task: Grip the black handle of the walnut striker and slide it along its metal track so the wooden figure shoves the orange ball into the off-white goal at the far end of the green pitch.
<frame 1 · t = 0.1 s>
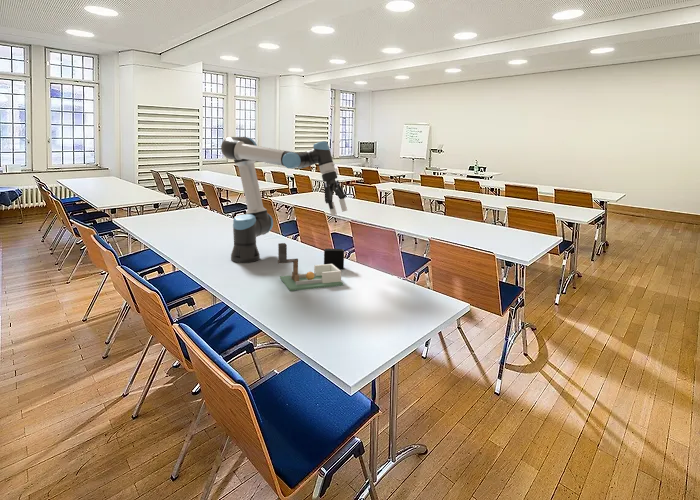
hand: (339, 213, 225), 28 cm above the table, tool tilted 20°, fingers open, 13 cm apart
striker: (288, 262, 198), point 10 cm above the table, slide at 0.0 cm
ball: (310, 275, 204), point 3 cm above the table, touching pitch
pitch: (311, 281, 205), on the table
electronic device: (333, 268, 226), on the table
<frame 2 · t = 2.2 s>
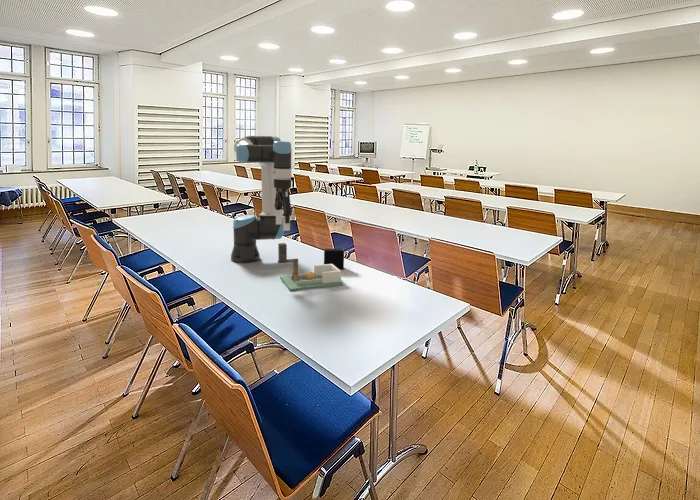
hand: (282, 227, 193), 27 cm above the table, tool pointing down, fingers open, 13 cm apart
nothing on the table moved.
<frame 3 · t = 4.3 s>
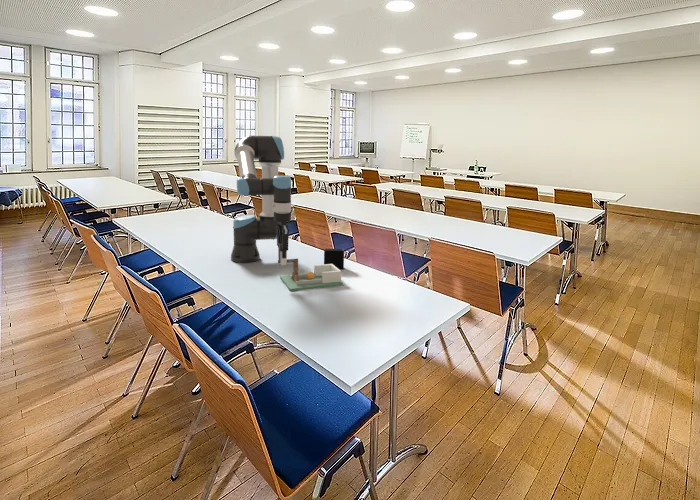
hand: (282, 263, 197), 10 cm above the table, tool pointing down, fingers closed on striker, 3 cm apart
striker: (288, 262, 198), point 10 cm above the table, slide at 0.0 cm, touching gripper
everything else where it was.
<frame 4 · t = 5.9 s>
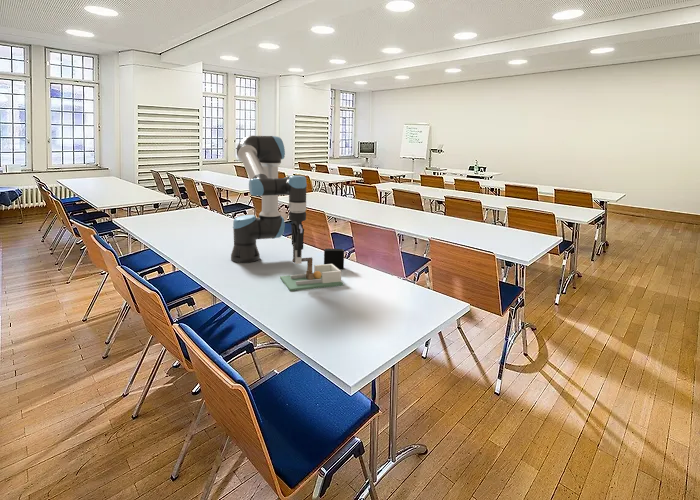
hand: (297, 262, 200), 10 cm above the table, tool pointing down, fingers closed on striker, 3 cm apart
striker: (302, 261, 200), point 10 cm above the table, slide at 6.8 cm, touching gripper
ball: (317, 275, 205), point 3 cm above the table, tilted 95°, touching pitch
everything else where it was.
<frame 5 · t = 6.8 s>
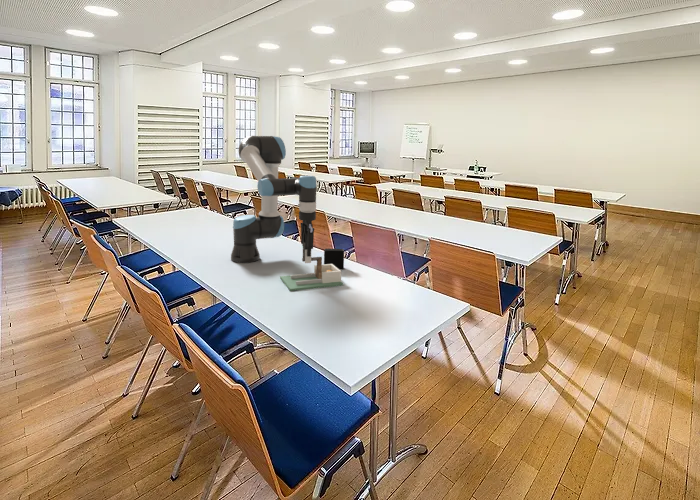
hand: (306, 261, 201), 10 cm above the table, tool pointing down, fingers closed on striker, 3 cm apart
striker: (312, 260, 202), point 10 cm above the table, slide at 11.3 cm, touching gripper
ball: (329, 274, 207), point 3 cm above the table, tilted 96°, touching pitch
everything else where it was.
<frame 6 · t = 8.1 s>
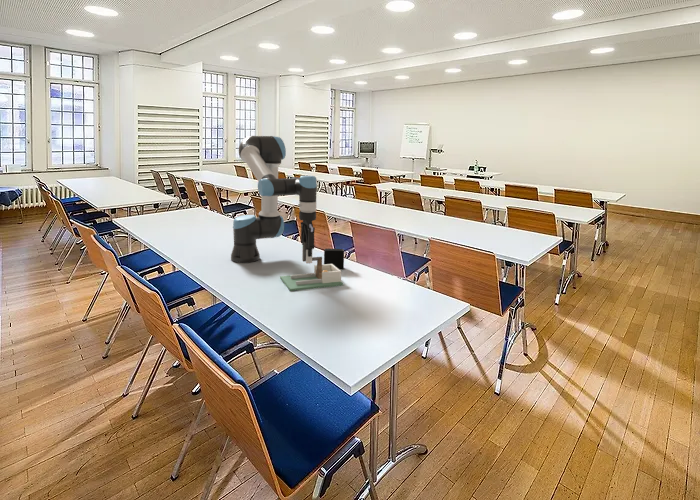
hand: (307, 261, 201), 10 cm above the table, tool pointing down, fingers open, 5 cm apart
striker: (312, 260, 202), point 10 cm above the table, slide at 11.5 cm
ball: (325, 274, 206), point 3 cm above the table, tilted 154°, touching pitch
everything else where it was.
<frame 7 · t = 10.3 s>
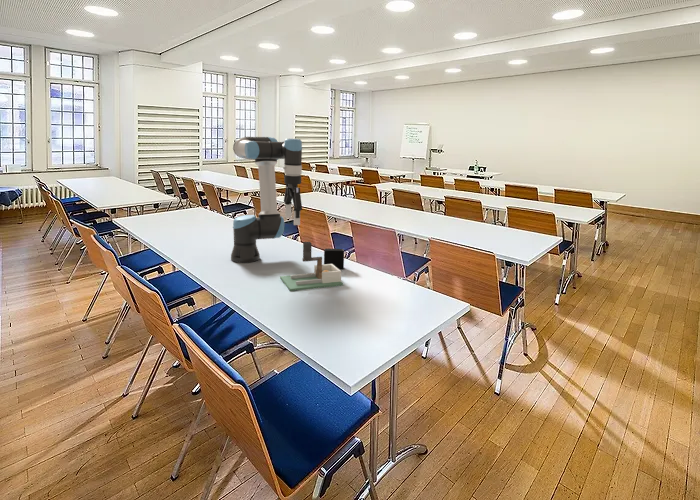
hand: (292, 221, 200), 28 cm above the table, tool pointing down, fingers open, 13 cm apart
ball: (325, 274, 207), point 3 cm above the table, tilted 142°, touching pitch
everything else where it was.
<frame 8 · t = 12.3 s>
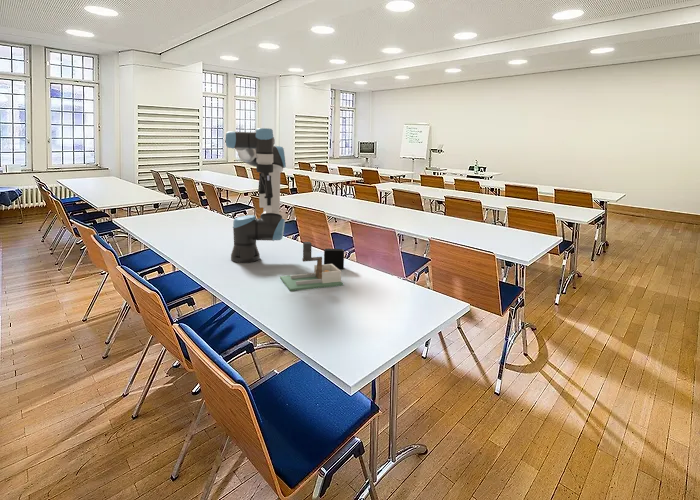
hand: (265, 210, 204), 32 cm above the table, tool pointing down, fingers open, 13 cm apart
ball: (326, 274, 207), point 3 cm above the table, tilted 131°, touching pitch
everything else where it was.
at the end: ball inside the target area (0.6 cm from its centre), point 3.0 cm above the table; striker slide at 11.5 cm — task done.
